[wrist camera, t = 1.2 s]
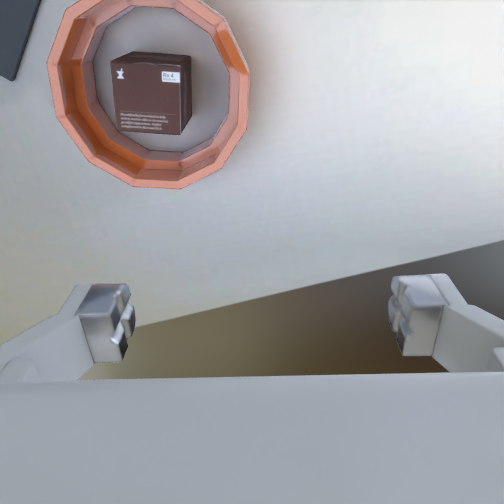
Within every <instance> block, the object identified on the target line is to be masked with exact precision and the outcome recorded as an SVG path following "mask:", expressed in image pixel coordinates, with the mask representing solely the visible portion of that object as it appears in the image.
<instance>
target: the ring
mask: <svg viewBox="0 0 504 504" xmlns="http://www.w3.org/2000/svg"><path fill="white" fill-rule="evenodd" d="M137 6H143V7H159V8H174V9H175V10H176V11H178V12H179V13H181V14H182V15H184V16H185V17H186V18H188V19H189V20H191V21H192V22H193V23H195V24H196V25H198V26H199V27H201V28H202V29H203V30H205V31H206V32H208V33H209V34H210V35H211V37H212V39H213V41H214V43H215V45H216V47H217V49H218V51H219V53H220V55H221V57H222V59H223V61H224V63H225V65H226V67H227V69H228V71H229V73H230V83H229V111H228V113H227V115H226V116H225V118H224V120H223V121H222V123H221V124H220V126H219V128H218V129H217V131H216V133H215V134H214V136H213V138H211V139H209V140H207V141H205V142H203V143H201V144H199V145H197V146H195V147H193V148H191V149H189V150H187V151H185V152H184V153H183V152H165V151H149V150H148V149H146V148H144V147H143V146H141V145H139V144H138V143H136V142H134V141H133V140H131V139H129V138H128V137H126V136H124V135H123V134H121V133H119V132H118V131H117V129H116V128H115V126H114V125H113V123H112V122H111V120H110V119H109V117H108V116H107V114H106V113H105V111H104V110H103V108H102V107H101V105H100V104H99V102H98V101H97V94H96V87H95V79H94V71H93V64H92V60H93V58H94V55H95V53H96V51H97V48H98V46H99V43H100V41H101V39H102V36H103V34H104V31H105V29H106V27H107V25H109V24H110V23H112V22H113V21H115V20H117V19H118V18H120V17H121V16H123V15H124V14H126V13H128V12H129V11H131V10H132V9H134V8H135V7H137ZM46 63H47V68H48V74H49V79H50V85H51V90H52V96H53V101H54V107H55V112H56V118H57V119H58V120H59V122H60V123H61V124H62V126H63V127H64V128H65V130H66V131H67V133H68V134H69V135H70V137H71V138H72V140H73V141H74V142H75V144H76V145H77V146H78V148H79V149H80V151H81V152H82V153H83V155H84V156H85V157H86V159H87V160H88V161H89V162H90V163H92V164H94V165H95V166H97V167H99V168H101V169H102V170H104V171H106V172H108V173H109V174H111V175H113V176H115V177H117V178H118V179H120V180H122V181H124V182H125V183H127V184H129V185H131V186H133V187H148V188H166V189H182V188H184V187H186V186H188V185H190V184H192V183H194V182H196V181H198V180H200V179H202V178H204V177H206V176H208V175H210V174H212V173H214V172H216V171H218V170H220V169H221V168H222V167H223V165H224V163H225V162H226V160H227V159H228V157H229V156H230V154H231V153H232V151H233V149H234V148H235V146H236V145H237V143H238V142H239V140H240V138H241V137H242V135H243V134H244V132H245V131H246V129H247V122H248V104H249V82H250V68H249V66H248V64H247V62H246V60H245V58H244V55H243V53H242V51H241V49H240V47H239V45H238V43H237V41H236V39H235V36H234V34H233V32H232V30H231V28H230V26H229V24H228V22H227V20H226V18H225V17H224V16H223V15H221V14H220V13H218V12H217V11H216V10H214V9H213V8H212V7H210V6H209V5H207V4H206V3H205V2H203V1H202V0H79V1H78V2H76V3H75V4H73V5H72V6H70V7H69V8H67V9H66V10H65V13H64V16H63V18H62V21H61V24H60V27H59V29H58V32H57V35H56V38H55V40H54V43H53V46H52V49H51V51H50V54H49V57H48V60H47V62H46Z"/></svg>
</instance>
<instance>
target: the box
mask: <svg viewBox="0 0 504 504" xmlns="http://www.w3.org/2000/svg"><path fill="white" fill-rule="evenodd" d="M110 64H111V73H112V82H113V93H114V103H115V113H116V125H117V130H119V131H128V132H142V133H156V134H169V135H170V134H171V135H181V133H182V131H183V130H184V128H185V126H186V125H187V123H188V121H189V120H190V118H191V117H192V101H191V57H190V56H186V55H173V54H162V53H146V52H131V53H128V54H126V55H123V56H121V57H119V58H116V59H114V60H112V61H111V62H110Z"/></svg>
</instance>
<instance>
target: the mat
mask: <svg viewBox="0 0 504 504" xmlns="http://www.w3.org/2000/svg"><path fill="white" fill-rule="evenodd" d="M40 1H41V0H0V75H1V76H3V77H5V78H6V79H8V80H10V81H14V79H15V76H16V73H17V70H18V67H19V64H20V61H21V58H22V55H23V52H24V49H25V46H26V43H27V40H28V37H29V34H30V31H31V28H32V25H33V22H34V19H35V16H36V13H37V10H38V7H39V4H40Z"/></svg>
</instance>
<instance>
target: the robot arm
mask: <svg viewBox="0 0 504 504" xmlns="http://www.w3.org/2000/svg"><path fill="white" fill-rule="evenodd" d="M391 289H392V291H393V293H394V295H393V296H392V297H391V298H390V299H389V306H388V318H389V322H390V325H391V328H392V330H393V331H395V332H396V333H397V339H396V340H397V343H398V345H399V348H400V350H401V353H402V355H403V356H432V357H433V358H434V359H435V360H437V362H439V363H440V364H441V365H442V366H444V367H445V368H446V369H447V370H448V371H449V372H451V373H409V374H407V373H406V374H358V375H312V376H311V375H309V376H263V377H212V378H165V379H164V378H162V379H112V380H78V379H79V378H80V377H81V376H82V375H83V374H84V373H85V372H87V371H88V370H89V369H90V368H91V367H92V366H93V365H94V363H110V362H122V361H123V358H124V356H125V353H126V351H127V348H128V343H127V339H129V338H130V337H131V336H132V335H133V332H134V329H135V311H134V306H132V305H131V304H130V303H129V302H128V300H129V298H130V296H131V294H130V290H129V286H128V285H127V284H79V285H76V286H75V287H74V289H73V291H72V292H71V294H70V295H69V297H68V298H67V300H66V301H65V303H64V304H63V306H62V307H61V309H60V310H59V312H58V313H57V315H56V316H50V317H49V318H47V319H45V320H43V321H42V322H40V323H38V324H36V325H35V326H33V327H31V328H29V329H28V330H26V331H24V332H23V333H21V334H19V335H17V336H16V337H14V338H12V339H10V340H9V341H7V342H5V343H3V344H2V345H0V504H504V321H503V320H502V319H500V318H498V317H496V316H494V315H492V314H490V313H488V312H486V311H484V310H482V309H480V308H478V307H476V306H474V305H468V304H467V303H466V301H465V300H464V298H463V297H462V296H461V294H460V293H459V291H458V290H457V288H456V287H455V286H454V284H453V283H452V282H451V280H450V278H449V277H448V276H447V275H446V274H429V275H412V276H394V277H393V280H392V284H391Z"/></svg>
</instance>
